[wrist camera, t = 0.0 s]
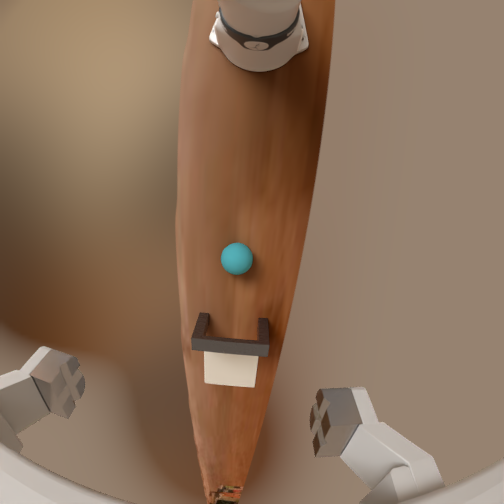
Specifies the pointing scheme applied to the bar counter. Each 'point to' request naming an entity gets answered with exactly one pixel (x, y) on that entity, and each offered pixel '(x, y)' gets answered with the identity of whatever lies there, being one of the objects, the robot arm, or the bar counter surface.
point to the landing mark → (230, 369)
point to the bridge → (230, 340)
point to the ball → (236, 258)
